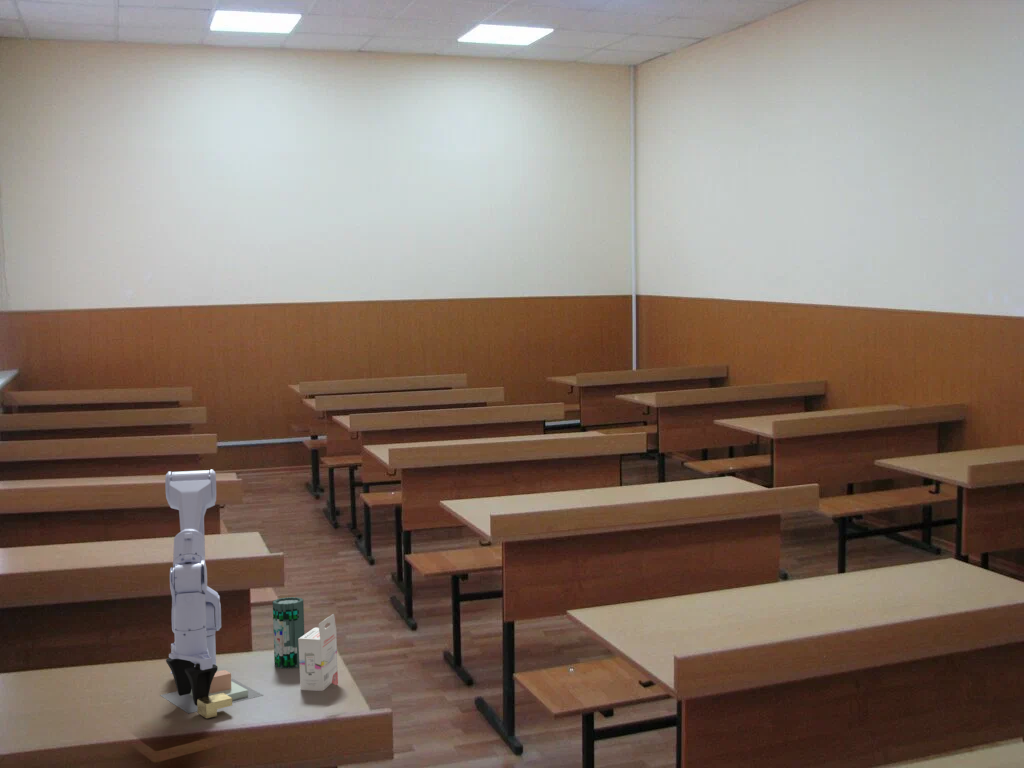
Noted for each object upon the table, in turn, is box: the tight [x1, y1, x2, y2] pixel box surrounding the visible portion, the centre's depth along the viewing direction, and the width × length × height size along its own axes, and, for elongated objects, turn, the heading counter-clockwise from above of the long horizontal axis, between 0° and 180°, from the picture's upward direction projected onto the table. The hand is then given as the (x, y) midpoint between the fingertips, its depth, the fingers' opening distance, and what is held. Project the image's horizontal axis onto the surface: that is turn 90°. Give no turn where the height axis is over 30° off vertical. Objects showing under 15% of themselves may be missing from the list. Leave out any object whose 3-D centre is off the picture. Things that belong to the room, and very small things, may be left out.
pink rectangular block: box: [190, 669, 248, 700], centre depth 208 cm, size 9×8×4 cm
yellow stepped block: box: [197, 693, 233, 719], centre depth 197 cm, size 4×5×3 cm
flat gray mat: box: [159, 678, 264, 714], centre depth 208 cm, size 14×15×2 cm
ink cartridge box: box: [298, 613, 339, 692], centre depth 214 cm, size 9×5×15 cm, turn 168°
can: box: [272, 596, 305, 670], centre depth 227 cm, size 6×6×15 cm
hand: (192, 699), depth 201 cm, fingers open, 7 cm apart
